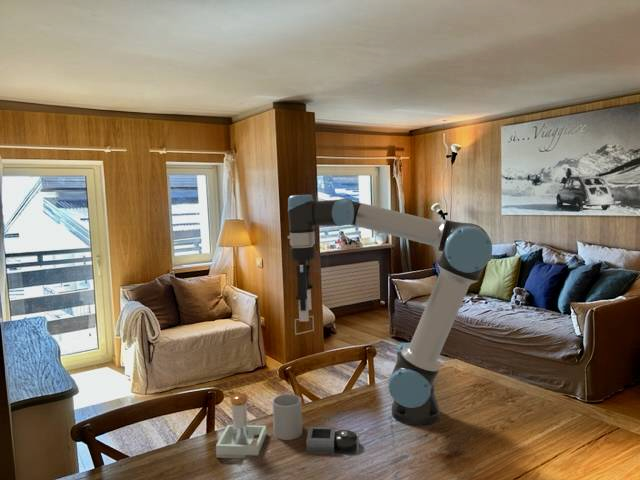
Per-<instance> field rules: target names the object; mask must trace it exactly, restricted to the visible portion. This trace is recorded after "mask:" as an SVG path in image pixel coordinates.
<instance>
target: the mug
mask: <svg viewBox="0 0 640 480" xmlns="http://www.w3.org/2000/svg"><path fill="white" fill-rule="evenodd" d="M302 410H303V409H302V398H301V397H300V396H299V395H296V394H291V393H289V394H288V393H285V394H279V395H277V396H275V397H274V399H272V421H273V422H272V423H273V428H272V429H273V433H272V434H273V435H274V437H275V438H276V439H279V440H282V441H286V440H287V441H291V440H295V439H297V438H299V437H301V436H302V435H303V417H302V416H303V413H302Z"/></svg>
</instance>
